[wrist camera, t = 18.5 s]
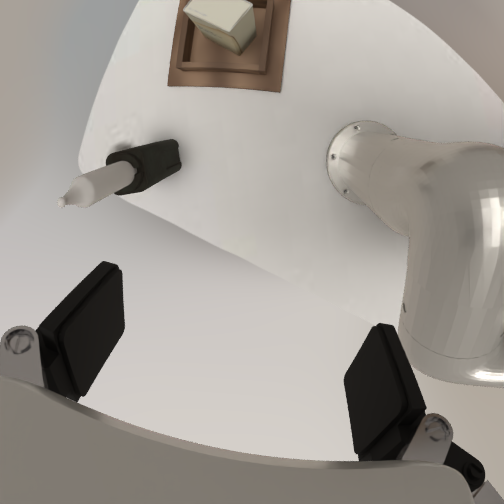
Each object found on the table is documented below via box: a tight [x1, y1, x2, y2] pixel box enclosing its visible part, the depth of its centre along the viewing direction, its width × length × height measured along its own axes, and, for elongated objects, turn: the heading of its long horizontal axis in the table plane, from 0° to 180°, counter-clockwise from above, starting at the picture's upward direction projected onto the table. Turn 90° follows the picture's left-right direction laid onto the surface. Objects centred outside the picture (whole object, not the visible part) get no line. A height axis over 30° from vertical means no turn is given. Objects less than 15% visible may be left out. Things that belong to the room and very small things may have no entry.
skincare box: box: [183, 0, 257, 56], centre depth 27 cm, size 6×4×12 cm
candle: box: [57, 139, 181, 208], centre depth 30 cm, size 5×5×25 cm
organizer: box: [167, 0, 291, 93], centre depth 31 cm, size 16×16×4 cm
